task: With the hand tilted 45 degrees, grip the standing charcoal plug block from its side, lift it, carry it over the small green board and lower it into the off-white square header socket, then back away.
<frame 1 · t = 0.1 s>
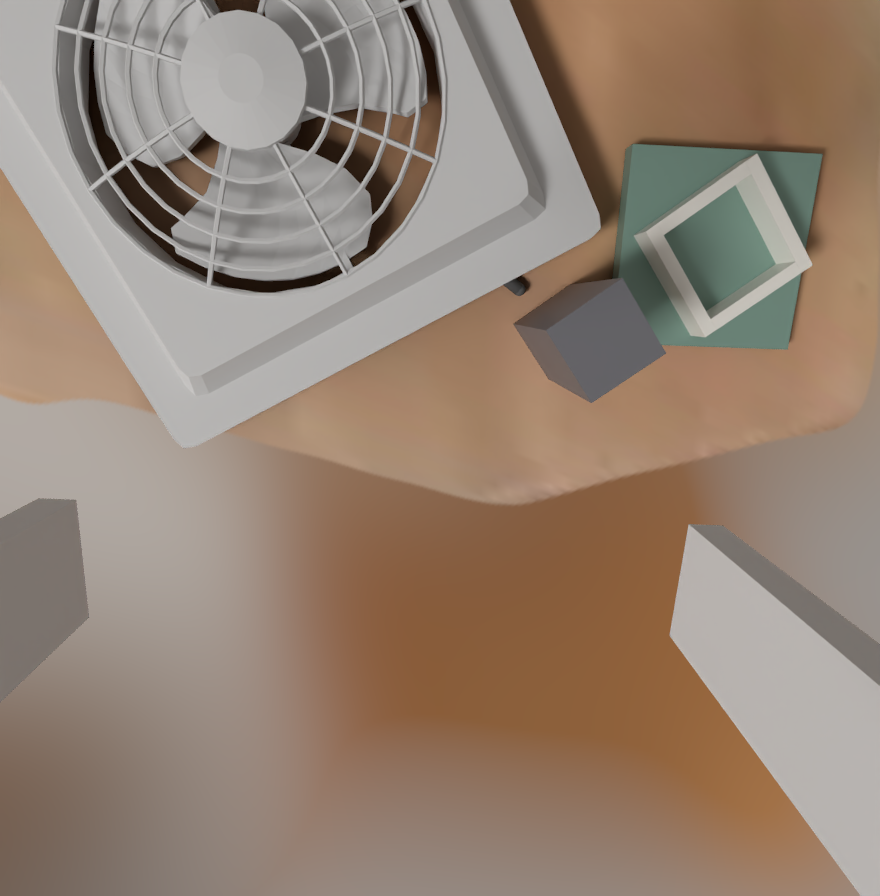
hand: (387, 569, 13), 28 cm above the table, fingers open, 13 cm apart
ventilation fan: (273, 122, 35), on the table
header board: (704, 253, 38), on the table
plug: (559, 332, 39), on the table
fan lead: (470, 251, 37), on the table
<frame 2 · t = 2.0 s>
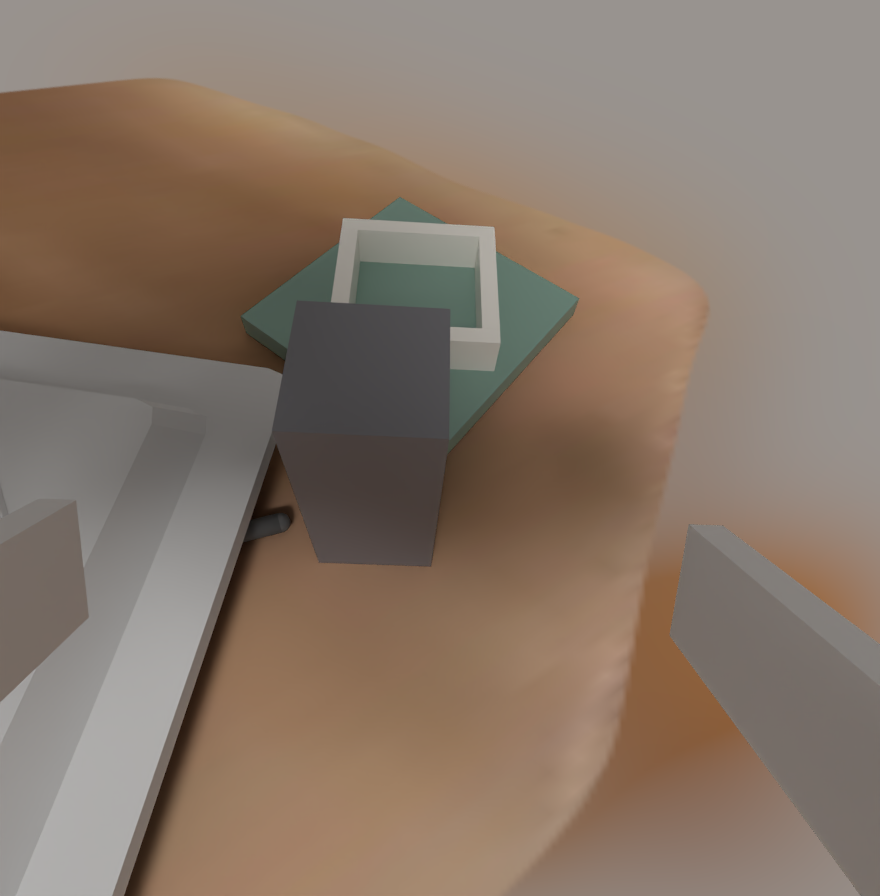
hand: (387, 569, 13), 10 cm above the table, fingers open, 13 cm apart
header board: (415, 323, 30), on the table
plug: (379, 513, 24), on the table
fan lead: (181, 552, 23), on the table
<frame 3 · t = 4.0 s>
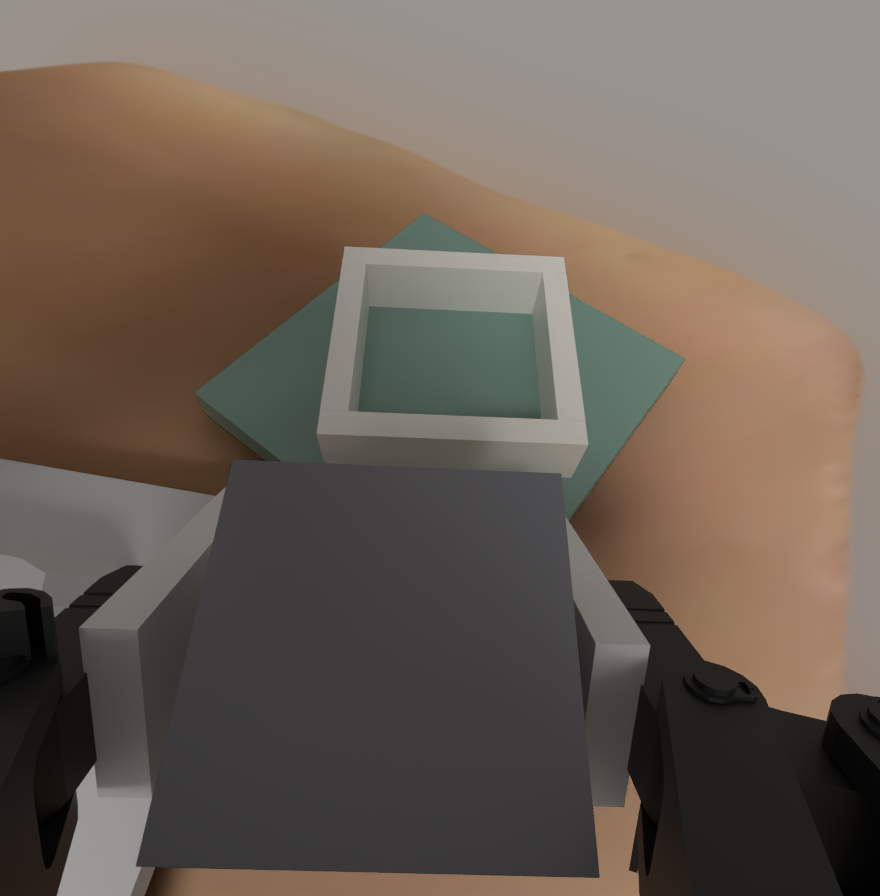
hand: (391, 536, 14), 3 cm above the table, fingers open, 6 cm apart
header board: (448, 395, 21), on the table
plug: (399, 721, 15), on the table
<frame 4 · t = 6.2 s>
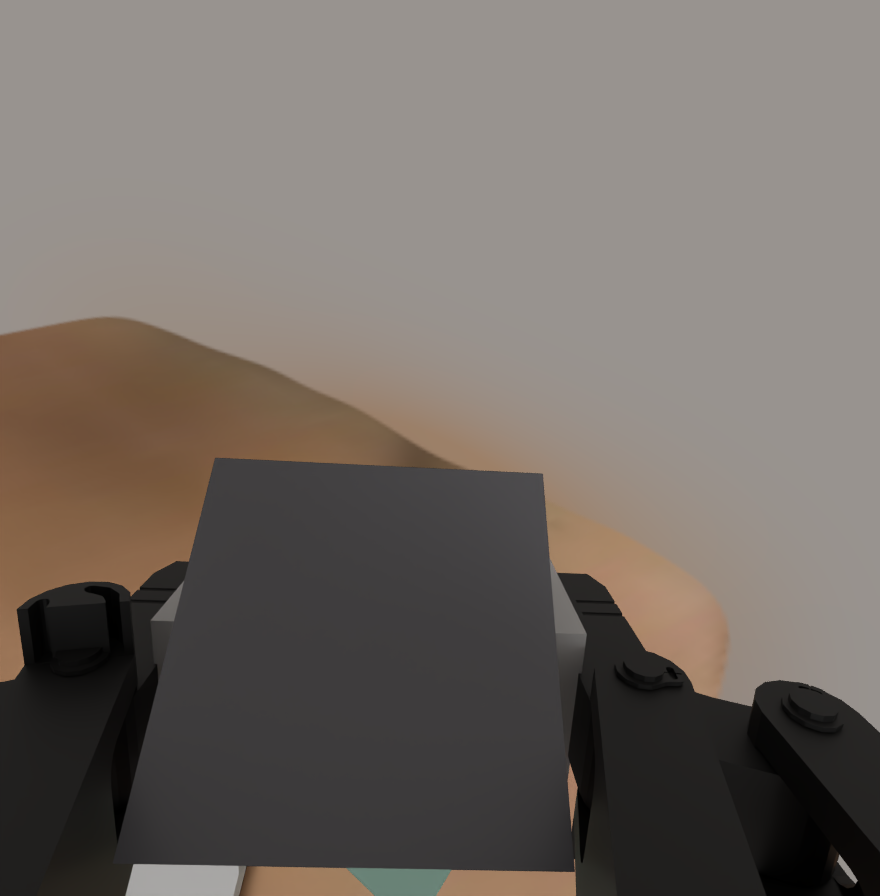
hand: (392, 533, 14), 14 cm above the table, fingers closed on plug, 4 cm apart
header board: (390, 685, 26), on the table
plug: (383, 721, 15), point 11 cm above the table, touching gripper
when the fingers open (5 cm above the table, at t = 8.3 s): plug stays where it is, resting on header board.
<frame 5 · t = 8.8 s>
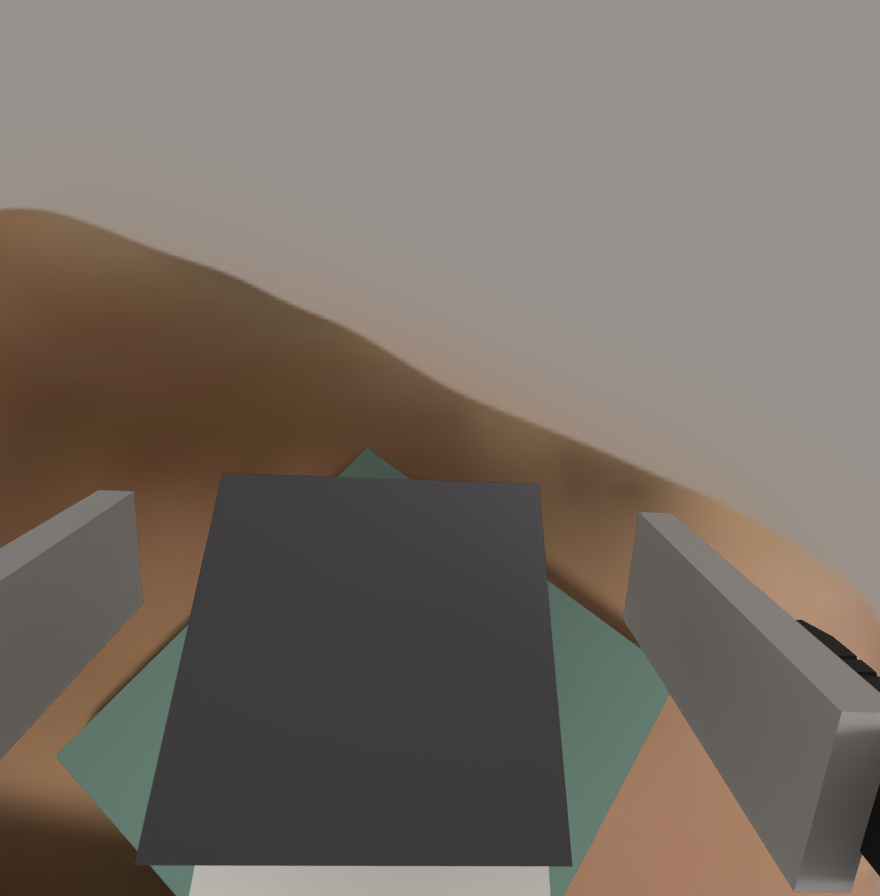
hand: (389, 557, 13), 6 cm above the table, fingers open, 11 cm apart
header board: (386, 718, 17), on the table
plug: (387, 721, 16), point 1 cm above the table, touching header board
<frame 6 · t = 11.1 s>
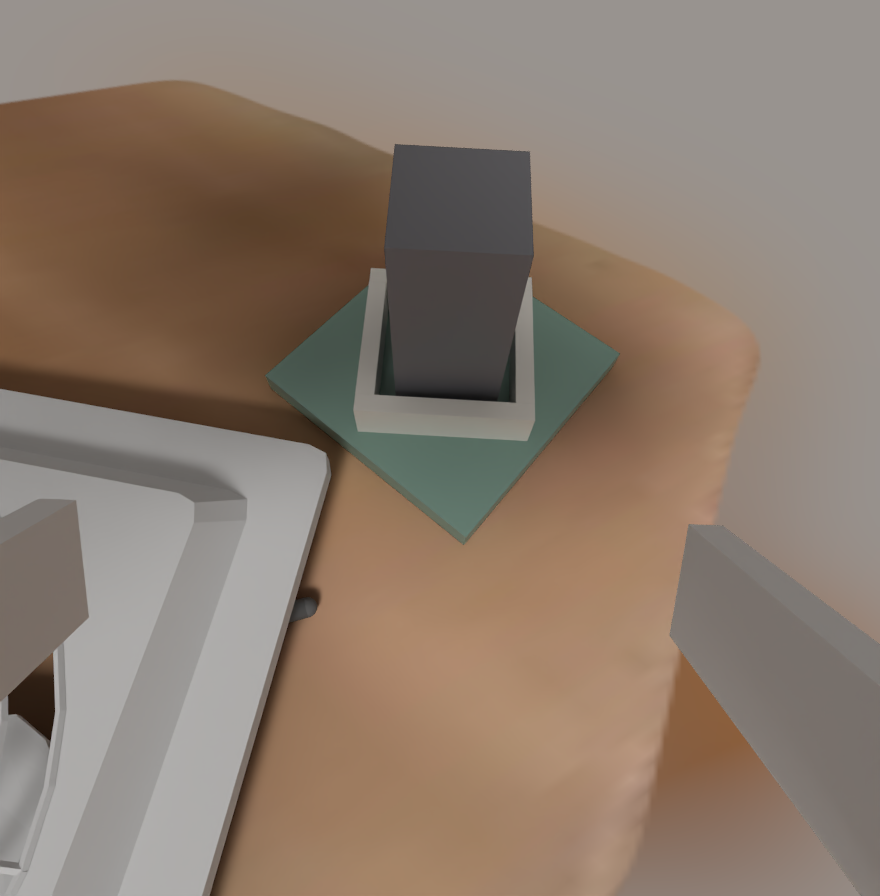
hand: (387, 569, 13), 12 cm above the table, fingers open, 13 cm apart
header board: (445, 377, 29), on the table
plug: (447, 367, 27), point 1 cm above the table, touching header board
fan lead: (209, 635, 23), on the table
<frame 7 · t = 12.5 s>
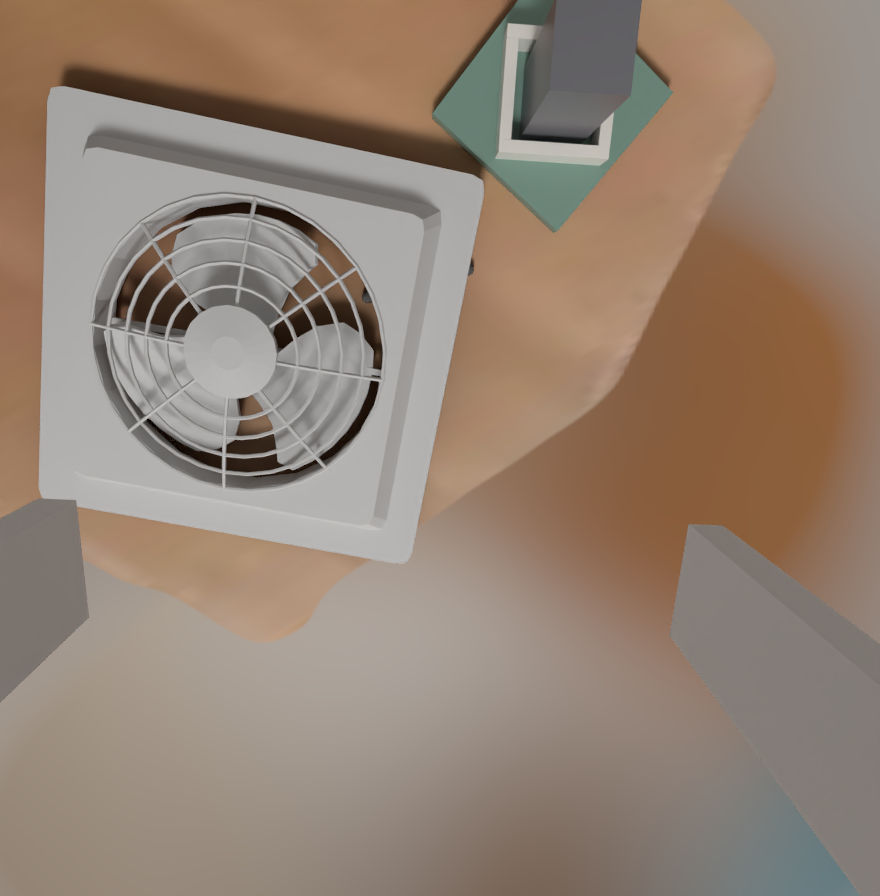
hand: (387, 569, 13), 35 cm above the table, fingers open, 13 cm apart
ventilation fan: (257, 346, 45), on the table
header board: (549, 108, 42), on the table
plug: (553, 106, 41), point 1 cm above the table, touching header board
fan lead: (417, 283, 44), on the table
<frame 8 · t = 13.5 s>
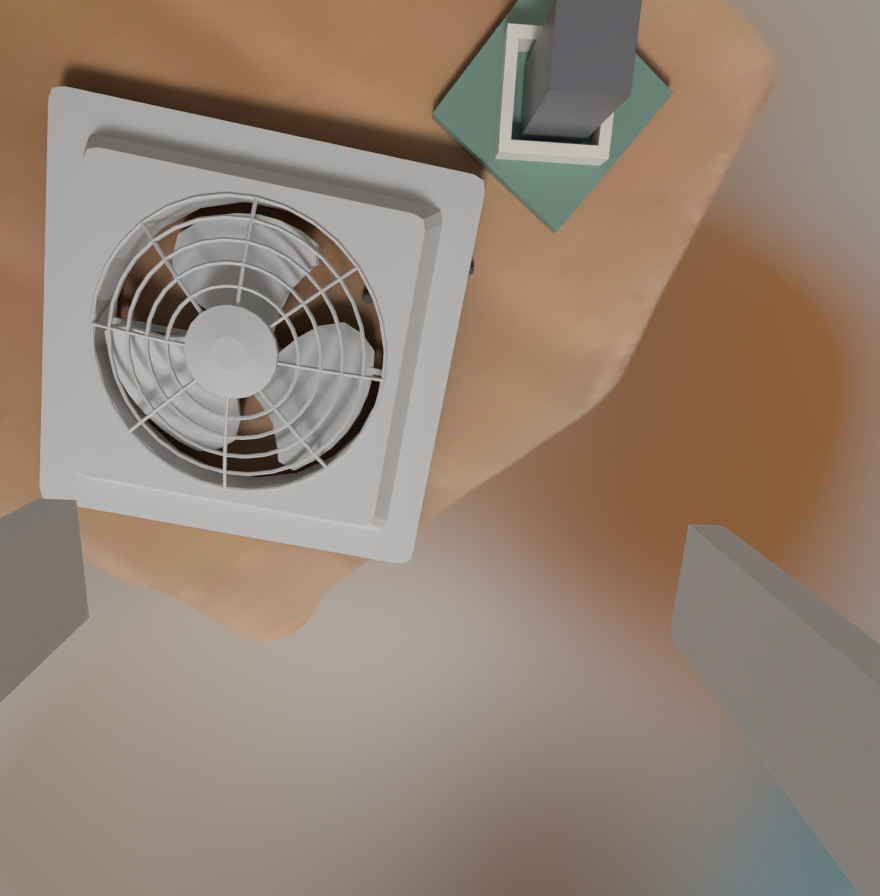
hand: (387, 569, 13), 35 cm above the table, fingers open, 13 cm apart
ventilation fan: (258, 346, 45), on the table, touching fan lead
header board: (549, 108, 42), on the table
plug: (553, 106, 41), point 1 cm above the table, touching header board
fan lead: (417, 283, 44), on the table
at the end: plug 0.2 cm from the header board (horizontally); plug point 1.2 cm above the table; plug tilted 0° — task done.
